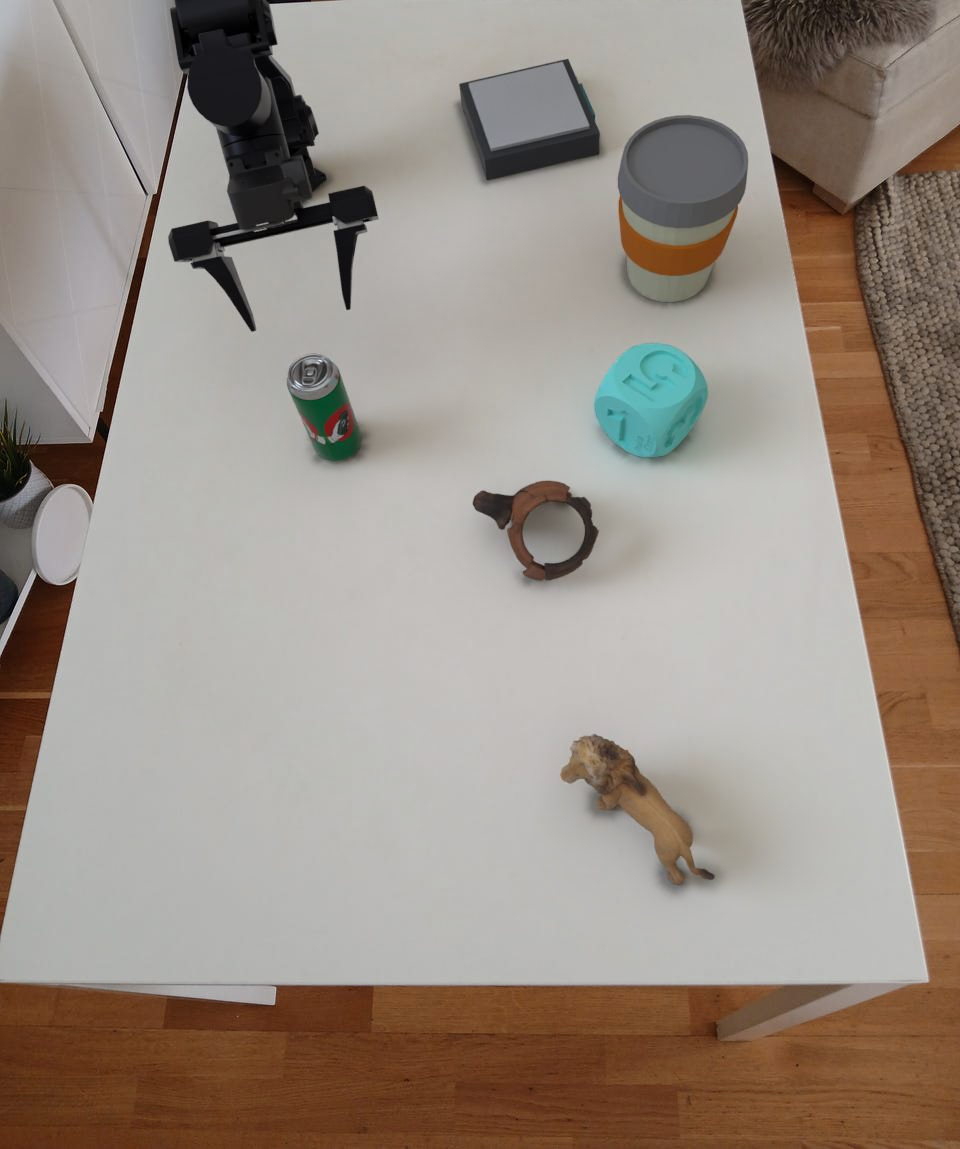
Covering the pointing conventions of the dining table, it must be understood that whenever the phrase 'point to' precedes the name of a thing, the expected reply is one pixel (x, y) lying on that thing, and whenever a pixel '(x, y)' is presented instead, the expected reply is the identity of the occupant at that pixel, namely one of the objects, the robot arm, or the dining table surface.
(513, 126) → the scale
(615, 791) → the lion figurine
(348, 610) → the dining table surface
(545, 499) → the jagged brown ring
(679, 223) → the reusable coffee cup
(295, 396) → the soda can
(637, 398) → the decorative dice
